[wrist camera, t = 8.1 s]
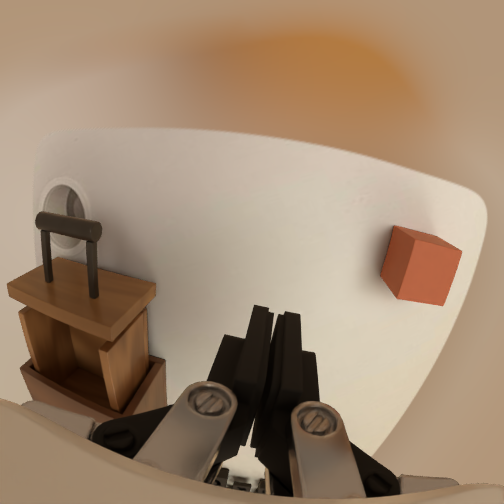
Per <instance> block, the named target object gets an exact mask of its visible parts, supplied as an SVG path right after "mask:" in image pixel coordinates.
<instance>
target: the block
mask: <svg viewBox="0 0 504 504" xmlns="http://www.w3.org/2000/svg"><path fill="white" fill-rule="evenodd" d="M461 254H462V251H461V250H459V249H458V248H456V247H454V246H453V245H451V244H449V243H448V242H446V241H444V240H442V239H441V238H439V237H437V236H434V235H430V234H426V233H423V232H419V231H415V230H411V229H407V228H403V227H399V226H394V228H393V232H392V236H391V240H390V244H389V247H388V251H387V254H386V258H385V261H384V265H383V268H382V271H381V275H380V276H381V278H382V279H383V280H384V282H385V283H386V285H387V286H388V287H389V289H390V290H391V291H392V293H393V294H394V296H395V297H396V298H397V299H402V300H408V301H414V302H420V303H427V304H433V305H439V306H443V305H444V303H445V301H446V298H447V295H448V293H449V290H450V287H451V285H452V282H453V279H454V276H455V273H456V270H457V267H458V264H459V261H460V258H461Z"/></svg>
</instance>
